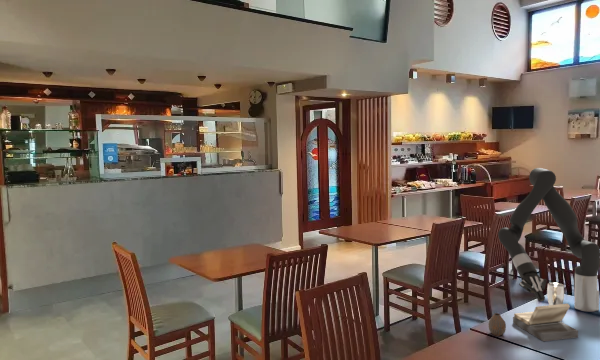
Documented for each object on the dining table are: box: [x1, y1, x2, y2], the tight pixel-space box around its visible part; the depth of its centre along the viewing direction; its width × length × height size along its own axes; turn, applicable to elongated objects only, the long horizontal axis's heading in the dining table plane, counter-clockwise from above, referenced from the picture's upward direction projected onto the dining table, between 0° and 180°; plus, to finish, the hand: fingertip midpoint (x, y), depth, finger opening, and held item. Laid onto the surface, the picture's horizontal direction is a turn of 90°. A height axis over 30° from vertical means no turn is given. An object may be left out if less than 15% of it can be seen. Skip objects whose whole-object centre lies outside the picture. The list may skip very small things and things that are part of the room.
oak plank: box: [529, 303, 571, 324], centre depth 195 cm, size 10×15×2 cm
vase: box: [488, 312, 507, 337], centre depth 196 cm, size 7×7×9 cm
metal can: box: [546, 282, 565, 305], centre depth 213 cm, size 7×7×15 cm
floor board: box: [512, 311, 579, 342], centre depth 198 cm, size 20×16×4 cm
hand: (542, 300), depth 199 cm, fingers closed
